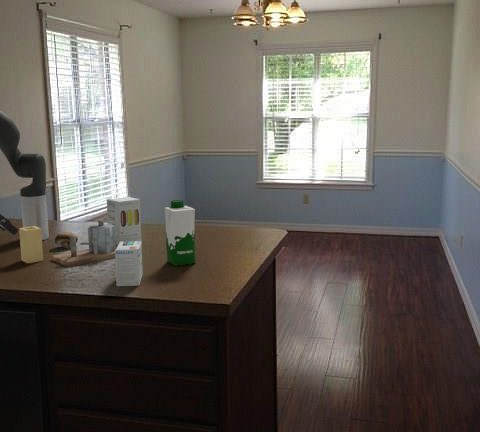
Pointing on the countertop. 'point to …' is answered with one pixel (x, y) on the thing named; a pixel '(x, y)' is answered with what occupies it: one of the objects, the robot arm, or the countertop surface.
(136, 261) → the light bulb box
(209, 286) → the countertop surface
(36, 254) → the yellow rectangular block
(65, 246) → the mushroom
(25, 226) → the robot arm
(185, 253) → the milk carton
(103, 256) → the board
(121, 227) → the supplement box
